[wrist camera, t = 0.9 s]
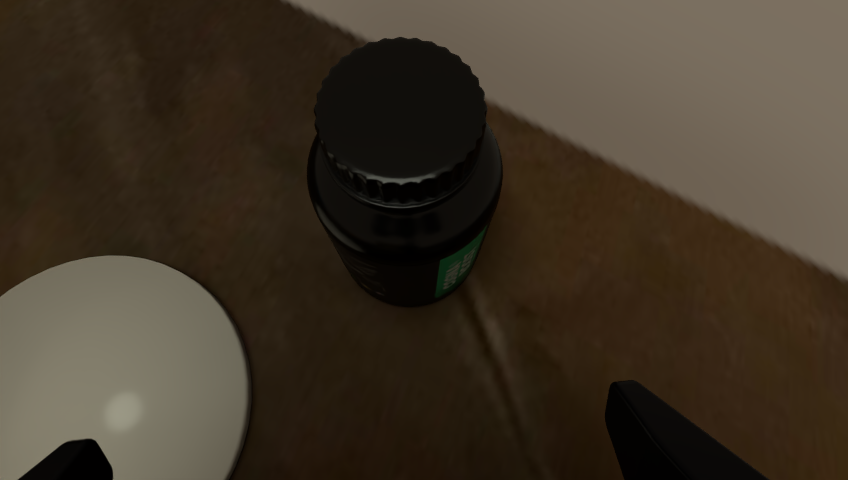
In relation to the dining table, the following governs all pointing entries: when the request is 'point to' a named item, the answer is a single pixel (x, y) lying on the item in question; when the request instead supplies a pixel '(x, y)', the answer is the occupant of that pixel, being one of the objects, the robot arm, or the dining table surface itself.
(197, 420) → the cream plate
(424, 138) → the supplement bottle
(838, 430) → the dining table surface
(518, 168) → the dining table surface
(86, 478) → the robot arm
